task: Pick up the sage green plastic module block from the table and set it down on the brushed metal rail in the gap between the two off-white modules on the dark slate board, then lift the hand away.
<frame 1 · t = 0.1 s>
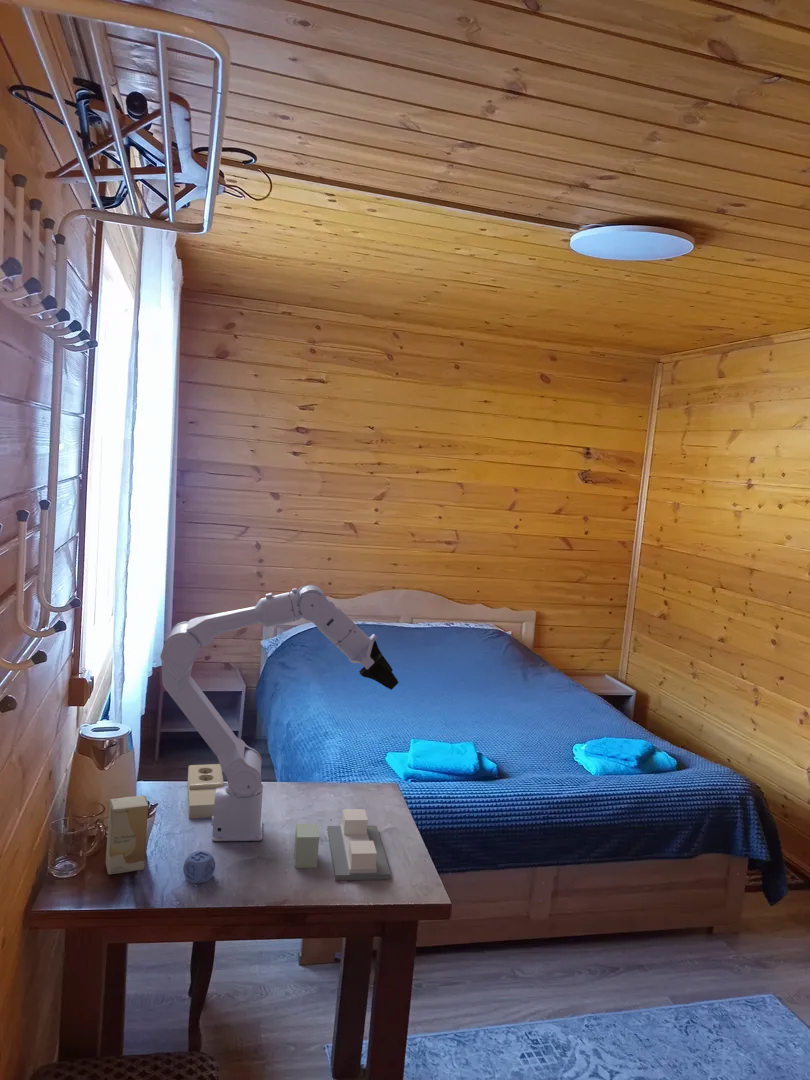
hand: (391, 679, 156), 32 cm above the table, tool tilted 50°, fingers open, 7 cm apart
decorative dice: (198, 878, 139), on the table
module block: (305, 860, 147), on the table
electrical outlet: (205, 800, 169), on the table
skincare box: (125, 867, 140), on the table
rail board: (357, 853, 151), on the table
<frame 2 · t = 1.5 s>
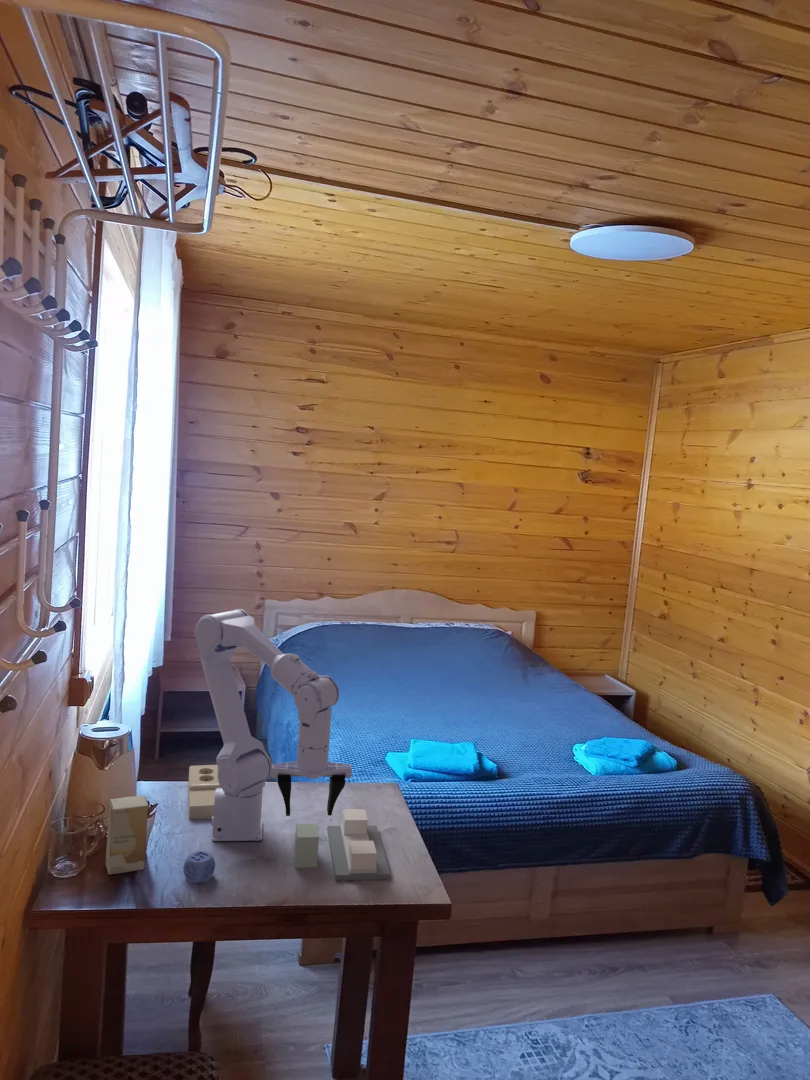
hand: (308, 813, 146), 9 cm above the table, tool pointing down, fingers open, 7 cm apart
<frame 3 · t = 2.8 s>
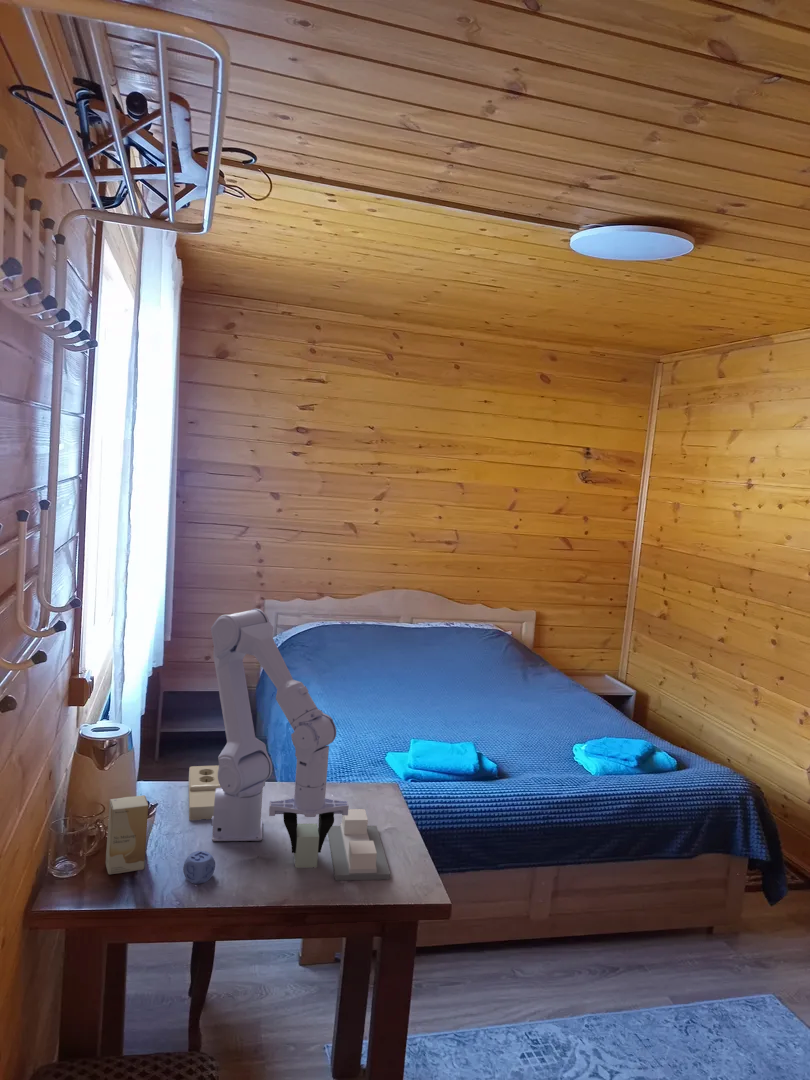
hand: (306, 850, 147), 2 cm above the table, tool pointing down, fingers closed on module block, 4 cm apart
module block: (305, 860, 147), on the table, touching gripper
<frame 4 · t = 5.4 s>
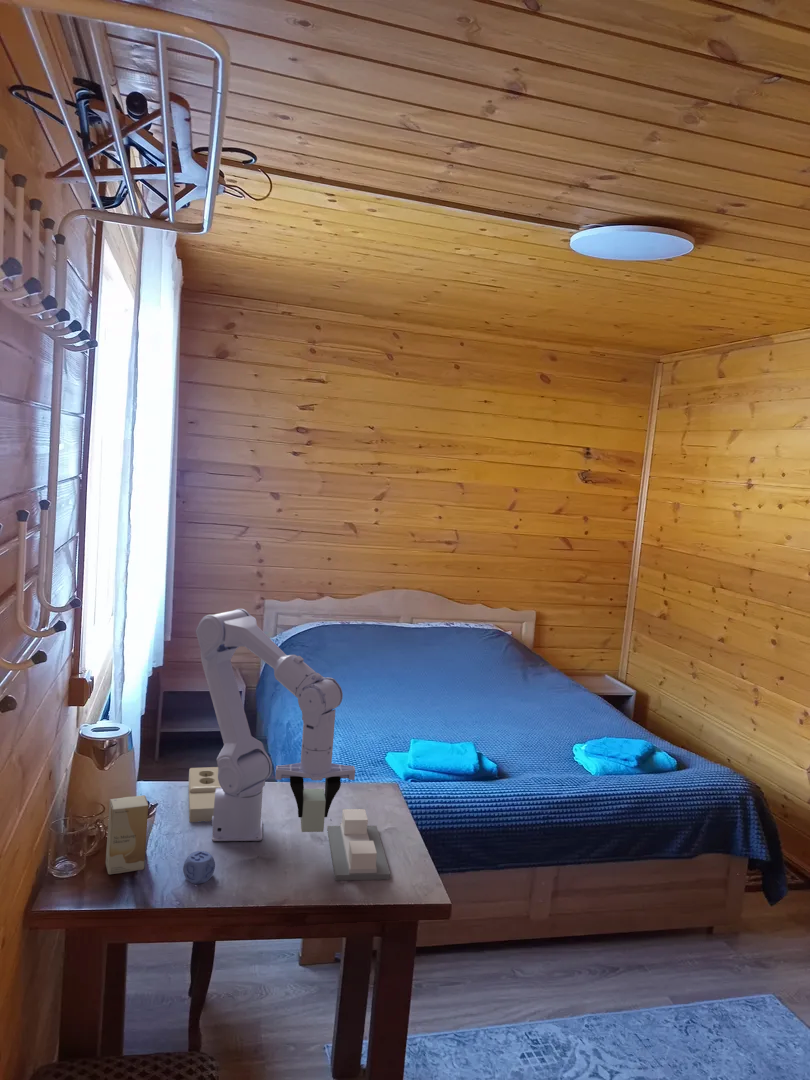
hand: (312, 814, 146), 9 cm above the table, tool pointing down, fingers closed on module block, 4 cm apart
module block: (311, 825, 146), point 7 cm above the table, touching gripper
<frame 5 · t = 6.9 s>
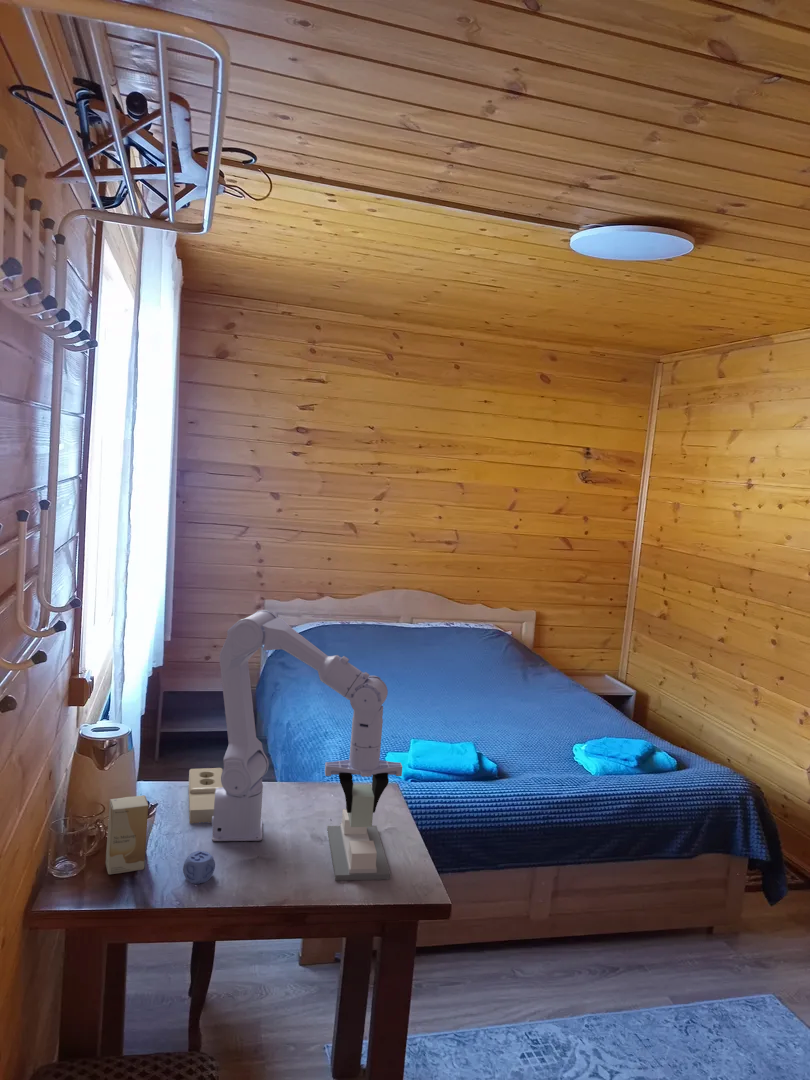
hand: (360, 810, 150), 9 cm above the table, tool pointing down, fingers closed on module block, 4 cm apart
module block: (359, 820, 150), point 7 cm above the table, touching gripper
when the fingers open (5 cm above the table, at t = 8.1 s): module block drops 1 cm, resting on rail board.
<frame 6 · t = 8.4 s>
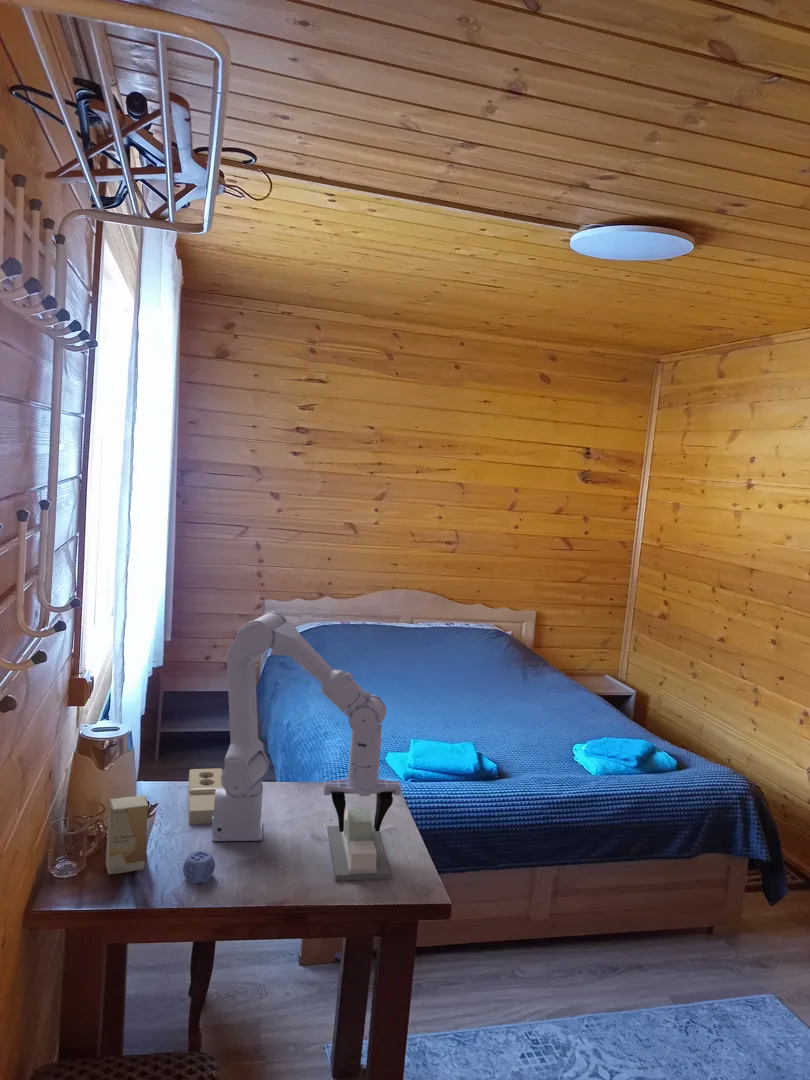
hand: (358, 829, 150), 5 cm above the table, tool pointing down, fingers open, 6 cm apart
module block: (357, 844, 150), point 2 cm above the table, touching rail board
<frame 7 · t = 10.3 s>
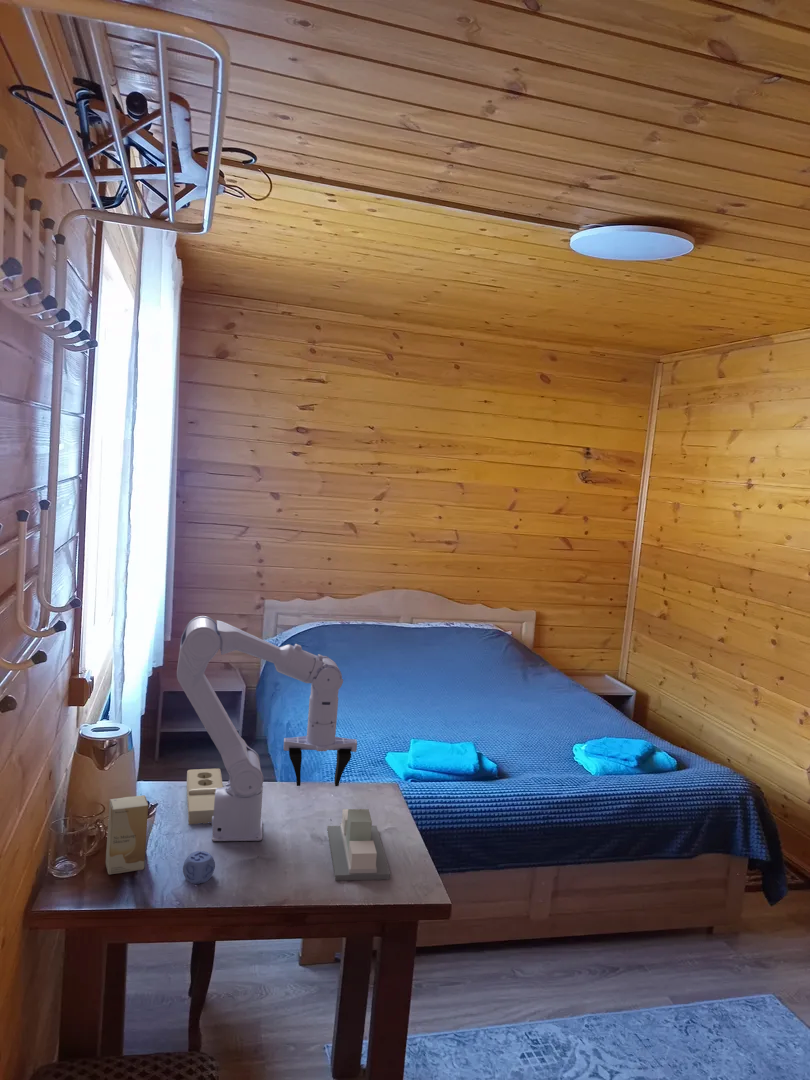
hand: (317, 783, 158), 9 cm above the table, tool pointing down, fingers open, 7 cm apart
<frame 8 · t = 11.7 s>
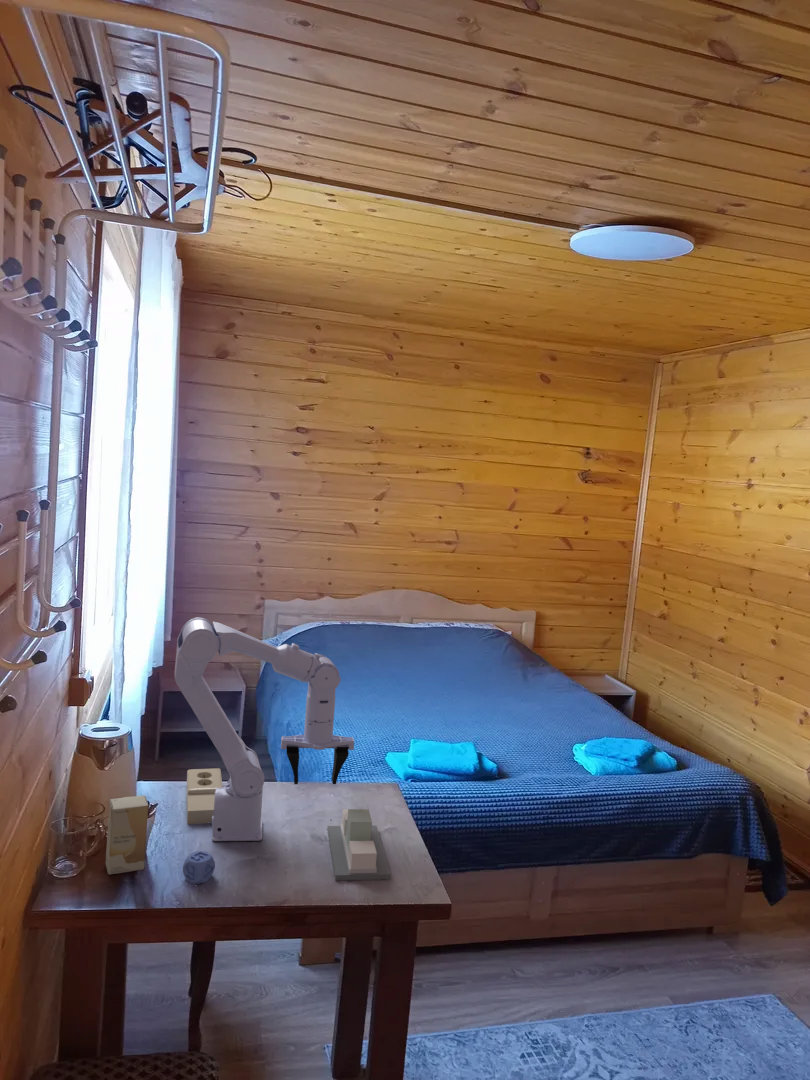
hand: (314, 782, 159), 9 cm above the table, tool pointing down, fingers open, 7 cm apart
at the end: module block 0.0 cm off-centre on the rail board, point 1.8 cm above the rail board's base; module block tilted 0°; the gripper is holding nothing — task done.
